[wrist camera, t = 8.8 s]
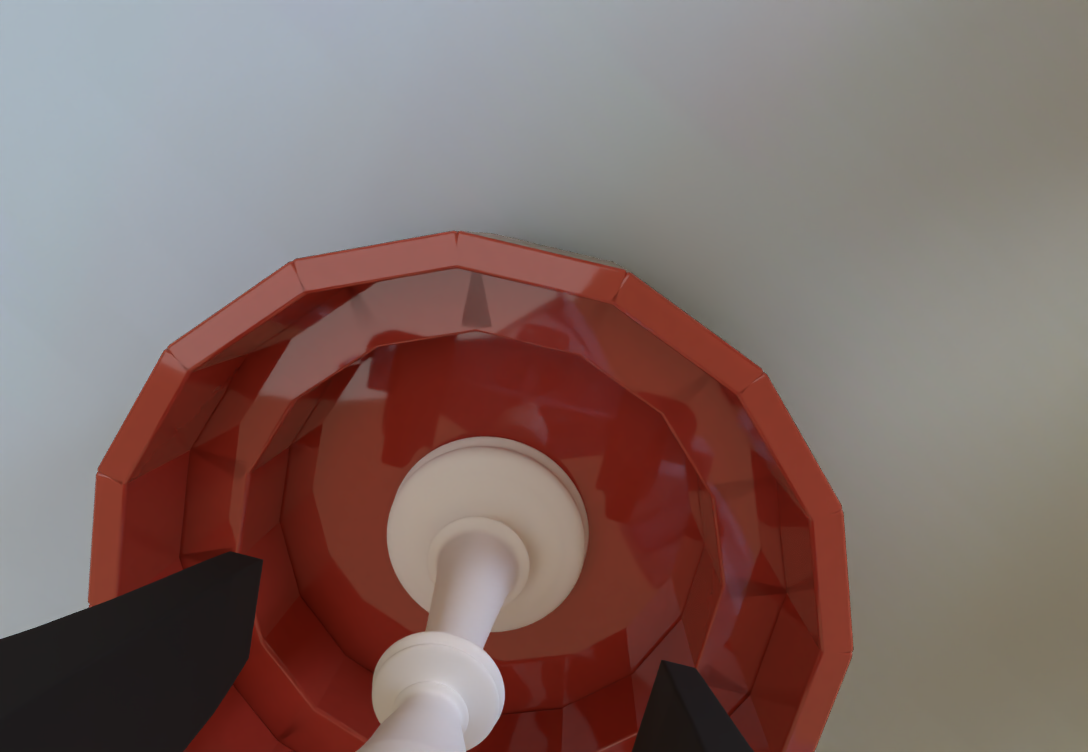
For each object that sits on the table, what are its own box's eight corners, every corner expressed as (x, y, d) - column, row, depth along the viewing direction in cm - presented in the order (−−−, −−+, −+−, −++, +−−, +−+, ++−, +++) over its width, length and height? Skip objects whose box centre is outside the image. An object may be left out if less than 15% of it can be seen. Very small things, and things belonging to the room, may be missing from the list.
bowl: (796, 728, 17) (873, 903, 12) (300, 774, 18) (208, 947, 13) (743, 189, 14) (819, 165, 9) (156, 292, 15) (-19, 314, 11)
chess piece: (622, 487, 15) (704, 973, 5) (538, 648, 16) (467, 1304, 6) (436, 402, 15) (138, 730, 5) (363, 570, 16) (-1, 1118, 6)
